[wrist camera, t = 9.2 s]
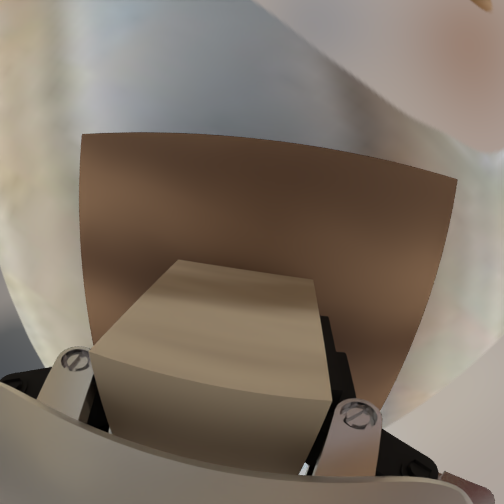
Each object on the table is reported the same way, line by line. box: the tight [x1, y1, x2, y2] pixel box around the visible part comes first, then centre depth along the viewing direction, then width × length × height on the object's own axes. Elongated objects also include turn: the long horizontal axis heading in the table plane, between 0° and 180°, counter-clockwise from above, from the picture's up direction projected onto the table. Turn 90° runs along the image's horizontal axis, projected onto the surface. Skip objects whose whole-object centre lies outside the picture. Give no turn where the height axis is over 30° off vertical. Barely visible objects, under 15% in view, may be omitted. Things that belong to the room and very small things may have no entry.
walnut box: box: [79, 132, 457, 411], centre depth 15 cm, size 14×16×5 cm
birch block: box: [89, 260, 332, 475], centre depth 9 cm, size 5×5×6 cm
